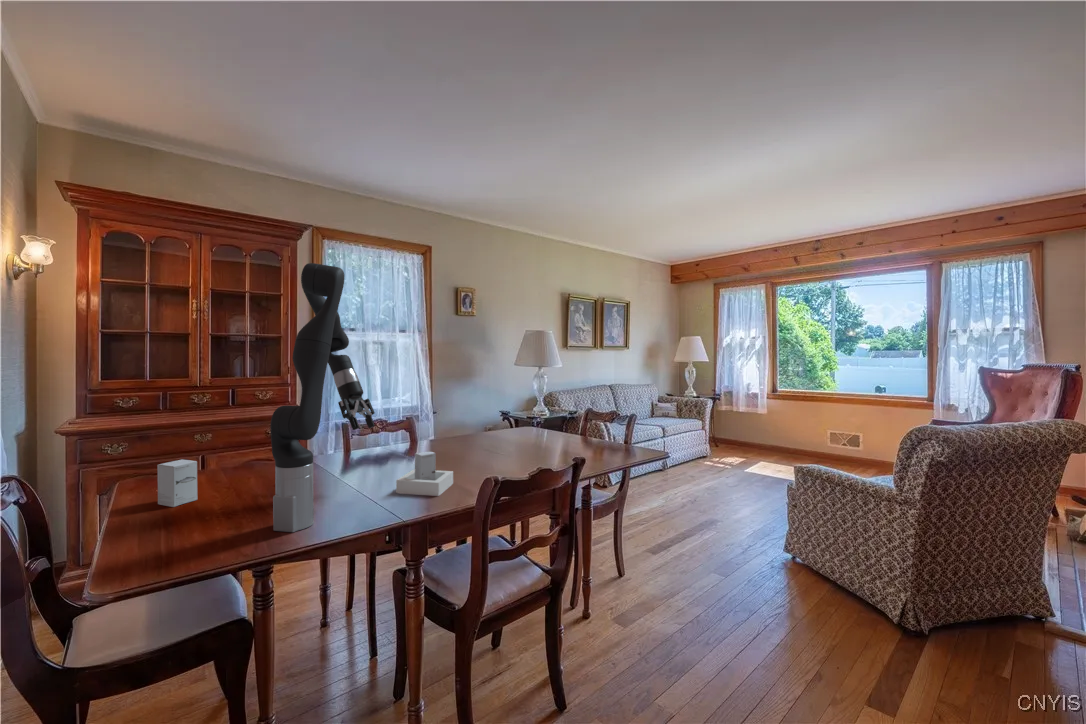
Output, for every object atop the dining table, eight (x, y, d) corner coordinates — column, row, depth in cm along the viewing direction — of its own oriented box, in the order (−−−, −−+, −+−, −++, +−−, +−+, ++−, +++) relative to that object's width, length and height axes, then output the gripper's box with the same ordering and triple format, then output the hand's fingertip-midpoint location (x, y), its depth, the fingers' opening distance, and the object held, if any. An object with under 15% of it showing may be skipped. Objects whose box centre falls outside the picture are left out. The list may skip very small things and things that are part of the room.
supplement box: (173, 507, 141) (172, 466, 141) (157, 504, 144) (156, 464, 143) (198, 500, 148) (197, 460, 148) (182, 497, 151) (181, 458, 150)
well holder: (438, 496, 155) (438, 482, 155) (396, 493, 157) (396, 480, 157) (453, 483, 169) (453, 471, 169) (414, 481, 171) (414, 469, 171)
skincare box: (420, 490, 159) (420, 455, 159) (414, 487, 163) (414, 453, 162) (436, 487, 164) (436, 452, 163) (429, 484, 167) (429, 450, 166)
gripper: (343, 379, 152) (360, 425, 150) (369, 380, 166) (385, 422, 164) (325, 389, 154) (341, 434, 151) (352, 389, 168) (368, 431, 165)
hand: (364, 428), depth 157 cm, fingers open, 8 cm apart
